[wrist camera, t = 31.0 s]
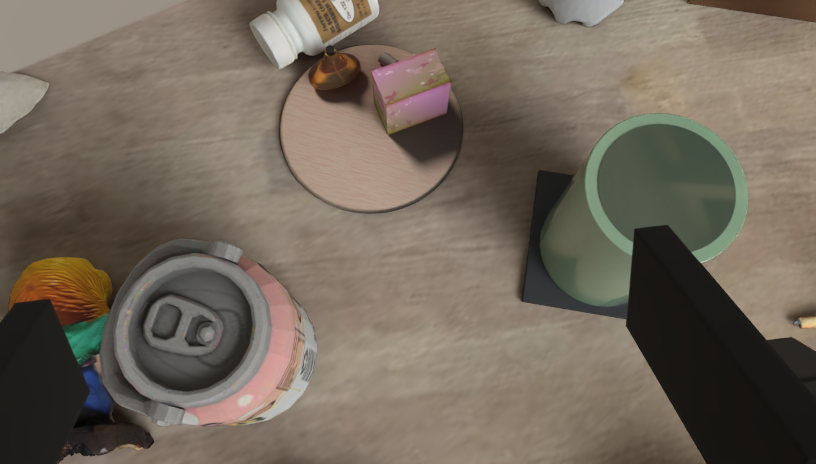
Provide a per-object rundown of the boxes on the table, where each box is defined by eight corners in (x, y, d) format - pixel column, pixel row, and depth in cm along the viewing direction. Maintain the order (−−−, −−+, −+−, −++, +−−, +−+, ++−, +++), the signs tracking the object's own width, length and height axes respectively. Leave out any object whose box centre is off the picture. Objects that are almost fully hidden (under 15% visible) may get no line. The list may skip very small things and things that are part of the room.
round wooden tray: (421, 21, 46) (422, -20, 42) (492, 173, 44) (502, 146, 39) (255, 80, 45) (239, 44, 41) (317, 241, 42) (307, 220, 38)
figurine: (46, 272, 42) (-5, 242, 36) (172, 273, 42) (143, 243, 36) (16, 467, 38) (-46, 470, 32) (154, 465, 39) (118, 467, 33)
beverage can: (143, 399, 40) (35, 390, 28) (194, 264, 42) (114, 205, 30) (293, 444, 39) (246, 454, 27) (337, 305, 41) (310, 260, 30)
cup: (514, 246, 42) (551, 187, 31) (593, 165, 43) (654, 82, 33) (608, 332, 41) (680, 301, 30) (686, 245, 42) (782, 186, 31)
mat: (521, 301, 42) (522, 300, 41) (538, 172, 44) (539, 169, 43) (661, 325, 41) (664, 324, 41) (671, 193, 43) (673, 191, 43)
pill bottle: (386, 4, 43) (284, 67, 42) (375, 24, 47) (282, 82, 46) (347, -57, 42) (243, 6, 41) (340, -31, 47) (245, 27, 46)
